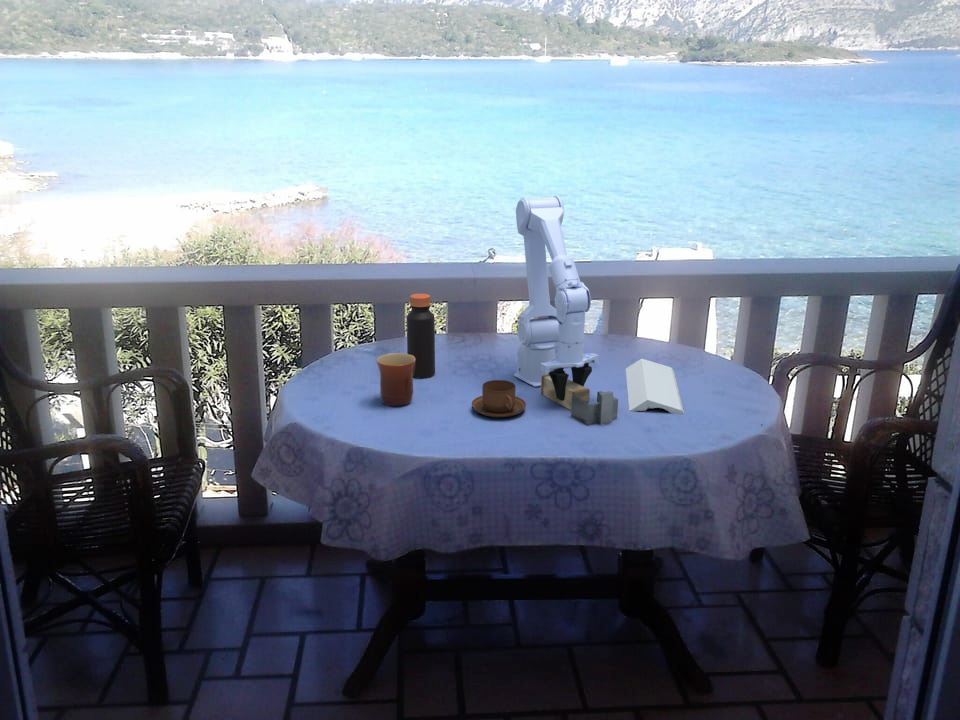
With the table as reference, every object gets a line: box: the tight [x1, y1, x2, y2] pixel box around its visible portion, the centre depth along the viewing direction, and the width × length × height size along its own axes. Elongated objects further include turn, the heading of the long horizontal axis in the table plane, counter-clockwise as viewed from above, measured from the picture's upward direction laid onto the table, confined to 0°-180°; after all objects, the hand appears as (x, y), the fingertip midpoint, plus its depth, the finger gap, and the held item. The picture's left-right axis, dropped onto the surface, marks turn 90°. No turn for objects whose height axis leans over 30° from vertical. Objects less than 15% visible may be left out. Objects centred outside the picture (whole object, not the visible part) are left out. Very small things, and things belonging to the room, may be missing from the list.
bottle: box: [406, 293, 436, 379], centre depth 216 cm, size 7×7×20 cm
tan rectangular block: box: [540, 374, 591, 411], centre depth 202 cm, size 13×4×5 cm, turn 31°
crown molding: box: [625, 358, 685, 415], centre depth 210 cm, size 29×12×4 cm, turn 173°
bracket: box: [570, 390, 619, 426], centre depth 192 cm, size 7×8×7 cm
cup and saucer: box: [471, 379, 527, 418], centre depth 196 cm, size 12×12×6 cm
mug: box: [376, 352, 416, 407], centre depth 201 cm, size 12×9×10 cm
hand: (568, 397), depth 201 cm, fingers closed on tan rectangular block, 4 cm apart
